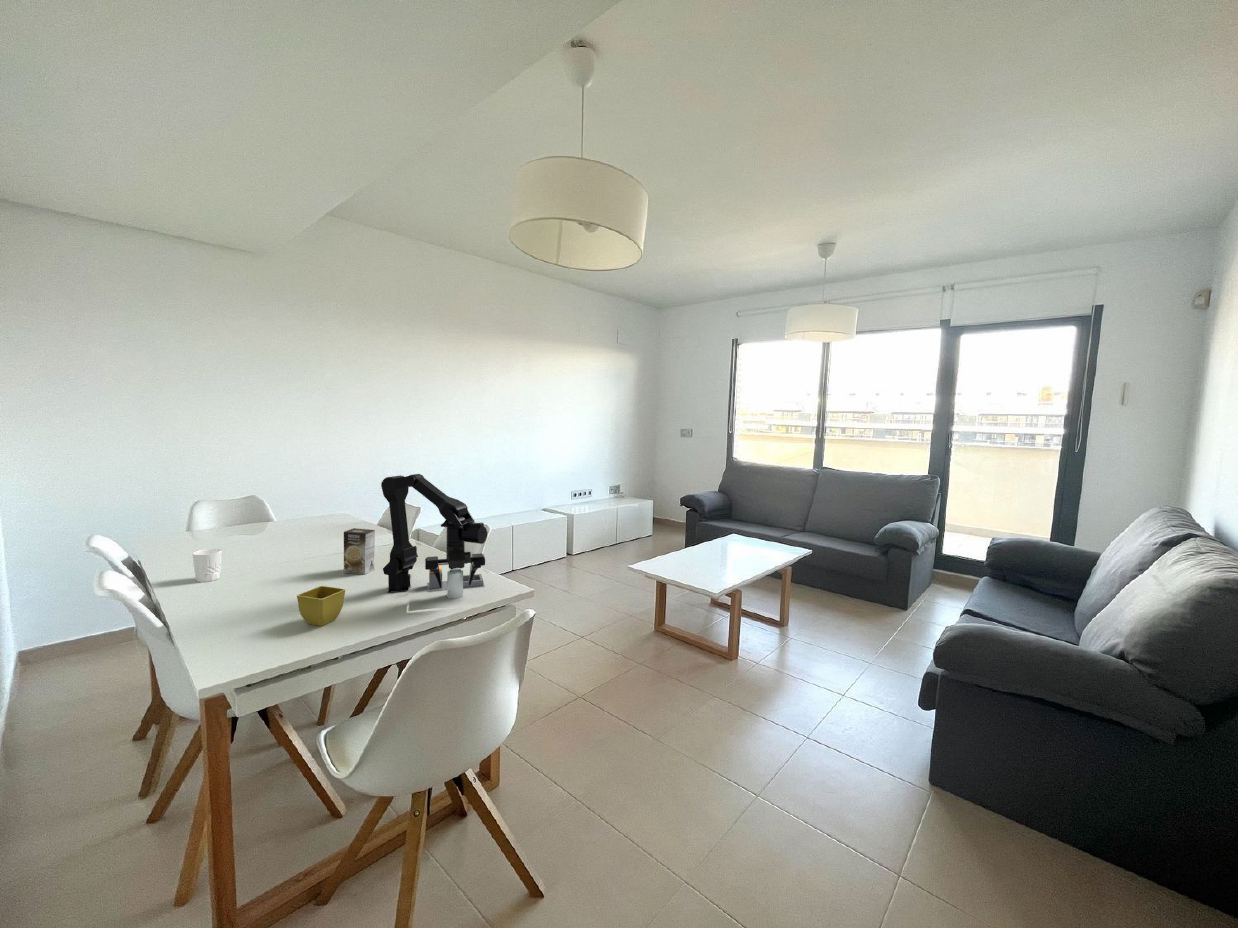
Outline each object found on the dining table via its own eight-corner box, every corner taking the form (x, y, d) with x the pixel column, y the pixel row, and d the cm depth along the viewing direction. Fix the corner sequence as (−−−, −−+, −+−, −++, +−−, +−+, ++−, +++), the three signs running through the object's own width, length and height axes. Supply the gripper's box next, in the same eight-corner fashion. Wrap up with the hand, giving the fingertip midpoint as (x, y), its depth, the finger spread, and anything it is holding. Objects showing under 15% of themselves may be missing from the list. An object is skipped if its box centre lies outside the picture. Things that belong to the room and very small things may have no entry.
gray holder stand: (427, 594, 163) (427, 577, 162) (427, 584, 172) (427, 568, 172) (484, 588, 170) (485, 572, 169) (482, 580, 179) (482, 564, 179)
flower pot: (346, 618, 142) (346, 588, 141) (322, 630, 133) (321, 598, 132) (321, 614, 144) (321, 585, 143) (296, 626, 135) (295, 595, 134)
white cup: (226, 578, 171) (225, 551, 170) (198, 584, 165) (197, 556, 164) (217, 574, 176) (216, 547, 175) (190, 579, 169) (189, 552, 168)
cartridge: (446, 594, 162) (447, 568, 161) (462, 592, 164) (462, 567, 163) (447, 599, 157) (447, 572, 156) (463, 598, 159) (463, 571, 158)
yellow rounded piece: (429, 585, 166) (429, 568, 165) (429, 582, 169) (429, 565, 169) (441, 584, 167) (441, 567, 167) (441, 581, 171) (441, 564, 170)
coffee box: (342, 573, 182) (342, 531, 180) (353, 568, 188) (353, 527, 187) (365, 574, 181) (365, 532, 179) (375, 569, 187) (375, 529, 186)
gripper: (425, 548, 148) (425, 597, 149) (487, 544, 155) (486, 591, 156) (425, 539, 158) (425, 585, 160) (483, 536, 165) (483, 580, 167)
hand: (455, 586), depth 160 cm, fingers open, 9 cm apart
